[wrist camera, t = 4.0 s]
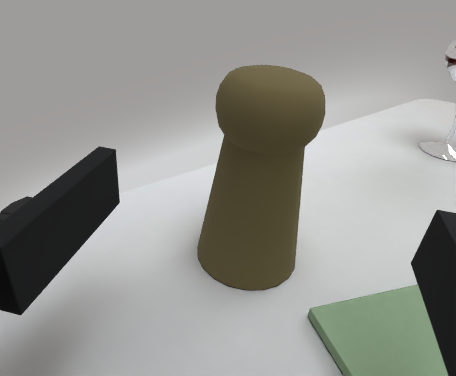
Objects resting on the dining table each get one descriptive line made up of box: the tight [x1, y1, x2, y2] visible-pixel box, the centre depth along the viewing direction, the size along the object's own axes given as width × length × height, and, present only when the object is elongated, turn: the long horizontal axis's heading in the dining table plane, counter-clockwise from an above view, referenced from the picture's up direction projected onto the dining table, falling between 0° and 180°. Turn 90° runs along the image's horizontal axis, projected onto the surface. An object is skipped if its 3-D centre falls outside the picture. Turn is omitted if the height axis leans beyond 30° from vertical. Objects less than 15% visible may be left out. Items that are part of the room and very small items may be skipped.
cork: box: [198, 65, 325, 290], centre depth 19 cm, size 6×6×11 cm
